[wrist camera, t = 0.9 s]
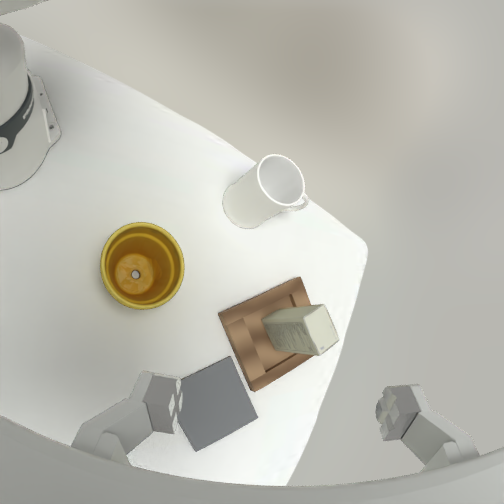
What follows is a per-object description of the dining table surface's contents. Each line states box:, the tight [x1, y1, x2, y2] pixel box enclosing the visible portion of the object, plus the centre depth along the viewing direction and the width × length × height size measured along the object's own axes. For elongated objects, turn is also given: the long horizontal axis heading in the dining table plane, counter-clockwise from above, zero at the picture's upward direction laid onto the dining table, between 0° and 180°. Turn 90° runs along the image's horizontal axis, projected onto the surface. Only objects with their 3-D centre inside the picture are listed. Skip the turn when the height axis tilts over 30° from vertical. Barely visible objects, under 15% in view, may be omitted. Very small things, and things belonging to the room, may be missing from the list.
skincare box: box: [262, 304, 339, 356], centre depth 47 cm, size 6×4×12 cm
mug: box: [223, 154, 309, 229], centre depth 50 cm, size 12×8×12 cm
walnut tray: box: [218, 277, 314, 392], centre depth 52 cm, size 14×16×2 cm
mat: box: [177, 356, 258, 452], centre depth 45 cm, size 12×12×1 cm
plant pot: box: [100, 222, 184, 310], centre depth 39 cm, size 10×10×10 cm
